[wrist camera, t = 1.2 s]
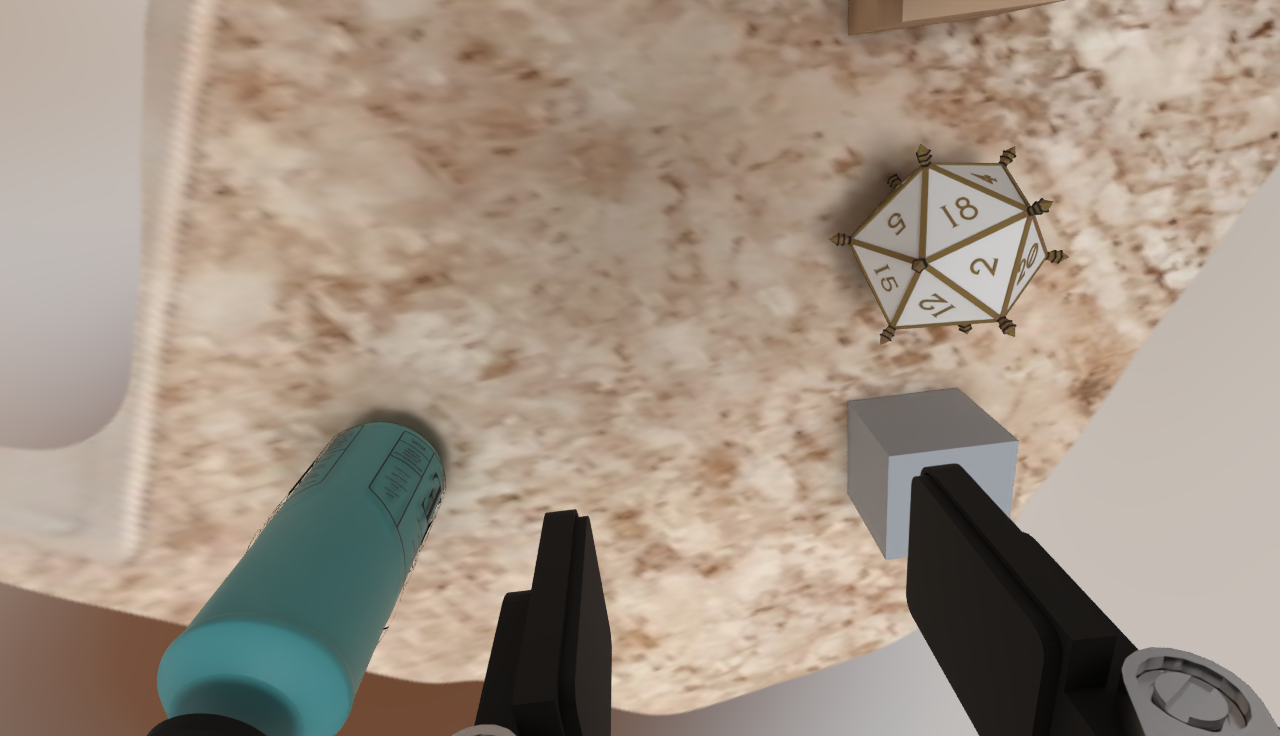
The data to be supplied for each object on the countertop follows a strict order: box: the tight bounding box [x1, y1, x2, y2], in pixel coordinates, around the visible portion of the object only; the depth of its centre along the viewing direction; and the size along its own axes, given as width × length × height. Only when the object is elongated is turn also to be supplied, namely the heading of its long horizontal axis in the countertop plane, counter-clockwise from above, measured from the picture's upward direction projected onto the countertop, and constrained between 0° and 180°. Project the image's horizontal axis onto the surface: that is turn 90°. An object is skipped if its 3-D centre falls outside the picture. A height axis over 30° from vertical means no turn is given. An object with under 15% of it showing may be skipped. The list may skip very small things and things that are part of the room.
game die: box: [829, 144, 1069, 345], centre depth 28 cm, size 9×8×10 cm
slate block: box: [848, 388, 1019, 560], centre depth 34 cm, size 6×6×6 cm
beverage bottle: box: [147, 422, 446, 736], centre depth 27 cm, size 6×7×20 cm
